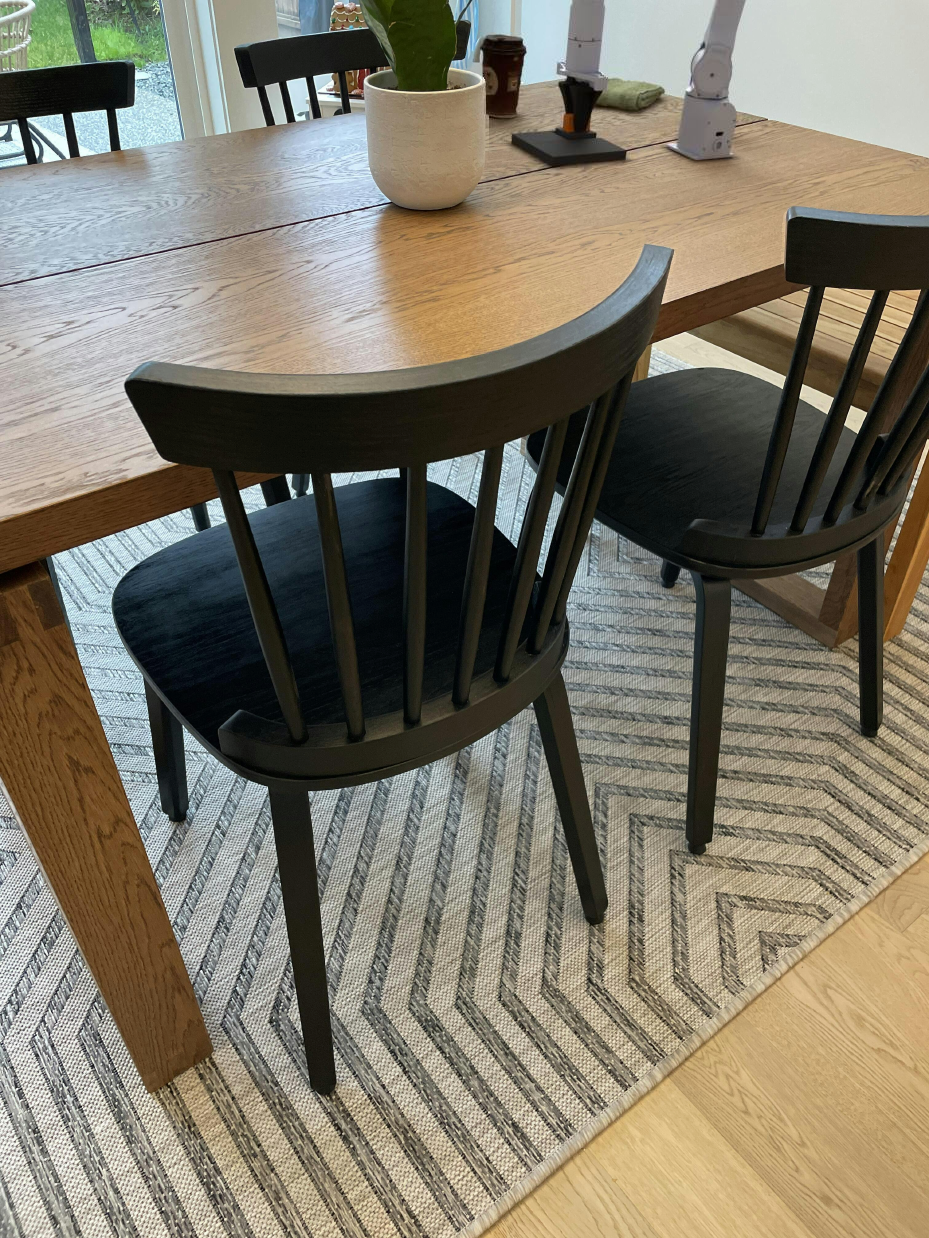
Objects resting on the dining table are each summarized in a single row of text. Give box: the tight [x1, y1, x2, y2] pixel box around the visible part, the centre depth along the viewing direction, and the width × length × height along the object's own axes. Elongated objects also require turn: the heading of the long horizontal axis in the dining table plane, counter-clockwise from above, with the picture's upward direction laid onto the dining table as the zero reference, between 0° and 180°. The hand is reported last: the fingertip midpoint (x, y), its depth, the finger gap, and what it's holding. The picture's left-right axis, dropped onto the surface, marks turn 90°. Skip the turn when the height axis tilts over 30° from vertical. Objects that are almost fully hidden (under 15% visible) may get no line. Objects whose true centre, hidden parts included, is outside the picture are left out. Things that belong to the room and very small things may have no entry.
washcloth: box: [595, 77, 666, 111], centre depth 190 cm, size 13×18×3 cm
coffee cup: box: [479, 33, 528, 119], centre depth 175 cm, size 9×8×13 cm
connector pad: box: [555, 113, 598, 140], centre depth 162 cm, size 5×5×4 cm
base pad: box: [510, 129, 628, 168], centre depth 159 cm, size 16×14×2 cm
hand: (576, 129), depth 162 cm, fingers closed on connector pad, 2 cm apart
